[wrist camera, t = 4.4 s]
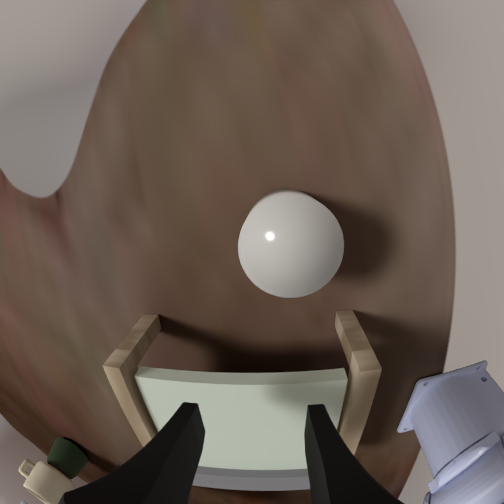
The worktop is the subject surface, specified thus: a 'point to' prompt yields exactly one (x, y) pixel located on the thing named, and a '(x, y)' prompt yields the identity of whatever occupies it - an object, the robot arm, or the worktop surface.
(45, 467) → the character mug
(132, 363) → the frame
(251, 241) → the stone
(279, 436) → the trapdoor
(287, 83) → the worktop surface
